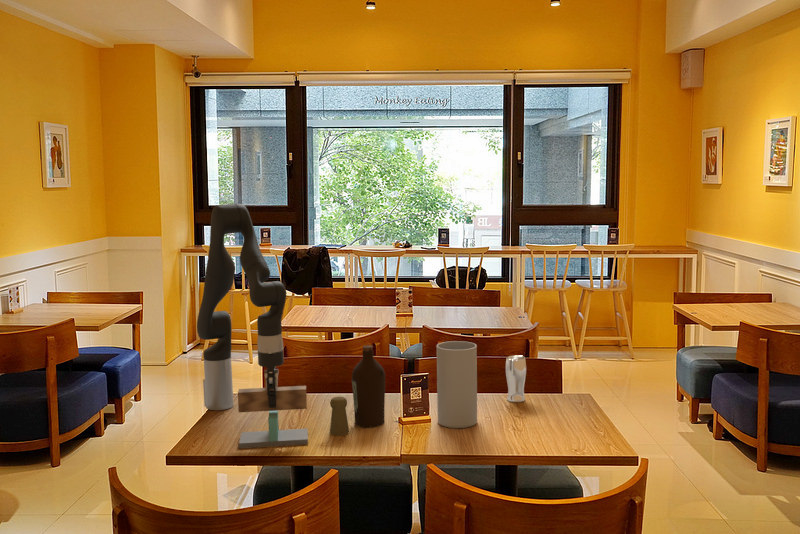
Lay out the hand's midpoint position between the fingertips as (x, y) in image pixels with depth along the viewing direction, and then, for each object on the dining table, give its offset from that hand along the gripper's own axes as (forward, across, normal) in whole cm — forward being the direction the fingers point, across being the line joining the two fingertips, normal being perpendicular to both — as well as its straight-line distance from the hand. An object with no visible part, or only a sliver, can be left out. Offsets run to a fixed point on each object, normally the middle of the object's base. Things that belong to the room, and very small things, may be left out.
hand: (272, 404), depth 236 cm
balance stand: (+11, 0, 0) cm, 11 cm away
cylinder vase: (+11, -6, +57) cm, 59 cm away
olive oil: (+11, -11, +30) cm, 34 cm away
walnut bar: (+1, 0, 0) cm, 1 cm away
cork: (+11, -4, +20) cm, 23 cm away
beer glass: (+11, -27, +82) cm, 87 cm away
